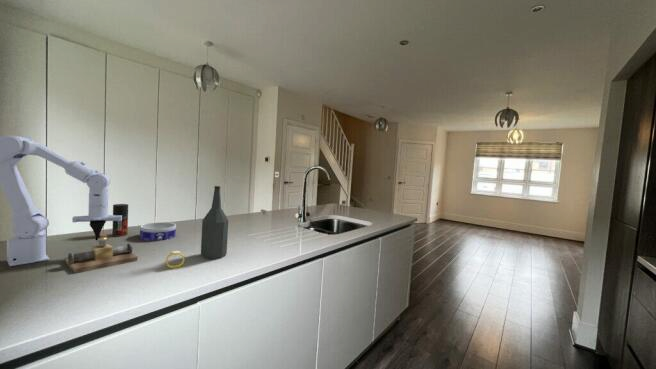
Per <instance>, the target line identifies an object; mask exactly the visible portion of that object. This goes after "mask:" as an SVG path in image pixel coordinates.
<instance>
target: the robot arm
mask: <svg viewBox="0 0 656 369" xmlns="http://www.w3.org/2000/svg"><path fill="white" fill-rule="evenodd" d="M27 156H38V157H40V158H41V159H45V160H46V161H48V162H51V163H53V164H55V165H57V166H59V167H61V168H63V169H64V171H65V174H67V175H68V176H70V177H72V178H74V179H76V180H78V181H80V182H81V183H83V184H86V185H87V187H88V188H89V192H88V215H77V216H75V215H74V216H73V217H72V218H71V219H72V221H71V222H72V223H79V222H80V223H81V222H82V223H84V222H85V223H87V222H89V226H90V228H91V230H92V231H93V233H94V235H95V236H94V237H95V241H98V238H100V234H101V232H102V230H103V228H104V226H105V224H106V222H113V221H121V220H122V215H113V214H112V215H111V214H109V187H108V186H109V185H110V184H111V180H110V177H109V176H108V175H106V173H104V172H103V173H101V172H100V170H98V169H96V170H95V169H94V168H92V167H89V166H88V165H87V163H86V162H84V161H81V162H80V161H78V160H76V161H72V160H70V159H68V158H66V157H65V156H63V155H61V154H59V153H58V152H56V151H54V150H53V149H52V148H50V147H48V146H46V145H44V144H42V143H40V142H38V141H36V140H33V139H32V138H30V137H28V136H23V135H22V136H19V135H18V136H17V135H12V134H4V135H2V136H0V187H1V189H2V191H3V193H4V196H5V198H6V199H7V201H8V204H9V206H10V208H11V210H12V212H13V213H12V216H11V222H12V233H13V235H15V237H10V238H7V240H6V255H5V260H6V262H7V264H8V266H9V267H13V266H20V265H26V264H32V263H38V262H44V261H49V260H50V257H49V256H48V255H47V232H46V231H45V230H47V228H48V227H49V225H50V222H49V218H48V217H47V216H45V215H44V214H43V213H42V211H41V210H40V209H39V208H37V207H36V206H35V204H34V201H33V200H32V197H31V195H30V193H29V191H28V188H27V186H26V184H25V182H24V180H23V178H22V176H21V173H20V171H19V169H18V166H17V164H18V163H19V162H20V161H21V160H22V159H23V158H24V157H27Z"/></svg>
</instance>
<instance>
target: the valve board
mask: <svg viewBox="0 0 656 369" xmlns="http://www.w3.org/2000/svg"><path fill="white" fill-rule="evenodd" d="M63 260H64V263H65V264H66V266H68V267H69V269H70V270H71V271H72V272H73V273H74V274H78V273H79V274H80V273H83V272H88V271H93V270H98V269H103V268H107V267H113V266H117V265H123V264H126V263H131V262H132V263H133V262H137V261H138V255H135V254H134V253H133V245H132V243H127V244H126V245H121V246H112V245H110V244H109V243H106V245H105V246H100V247H99V245H93V246H91V250H89V251H84V252H77V253H73V252H69V253H68V255H67V257H64V258H63Z"/></svg>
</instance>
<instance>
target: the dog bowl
mask: <svg viewBox="0 0 656 369" xmlns="http://www.w3.org/2000/svg"><path fill="white" fill-rule="evenodd" d="M139 228H140V229H139V238H140V240H142V241H146V242H147V241H148V242H159V241H160V242H161V240H162V241H166V240H167V239H168V240H172V239H173V238H175V237H176V232H177V224H176V223H174V222H169V221H156V222H154V221H153V222H146V223H143V224H141V225H140V226H139ZM171 238H172V239H171Z"/></svg>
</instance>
